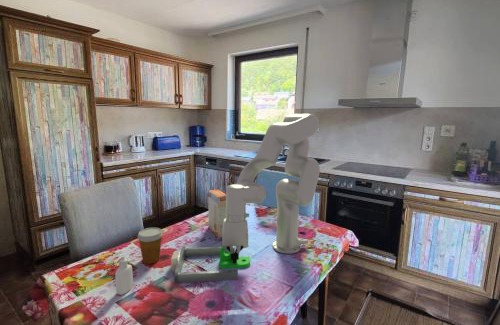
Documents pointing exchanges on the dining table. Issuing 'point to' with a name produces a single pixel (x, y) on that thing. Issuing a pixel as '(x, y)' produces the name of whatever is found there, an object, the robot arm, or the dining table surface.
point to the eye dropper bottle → (123, 277)
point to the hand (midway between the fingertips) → (234, 261)
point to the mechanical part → (228, 263)
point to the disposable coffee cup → (150, 244)
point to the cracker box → (216, 211)
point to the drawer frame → (199, 276)
